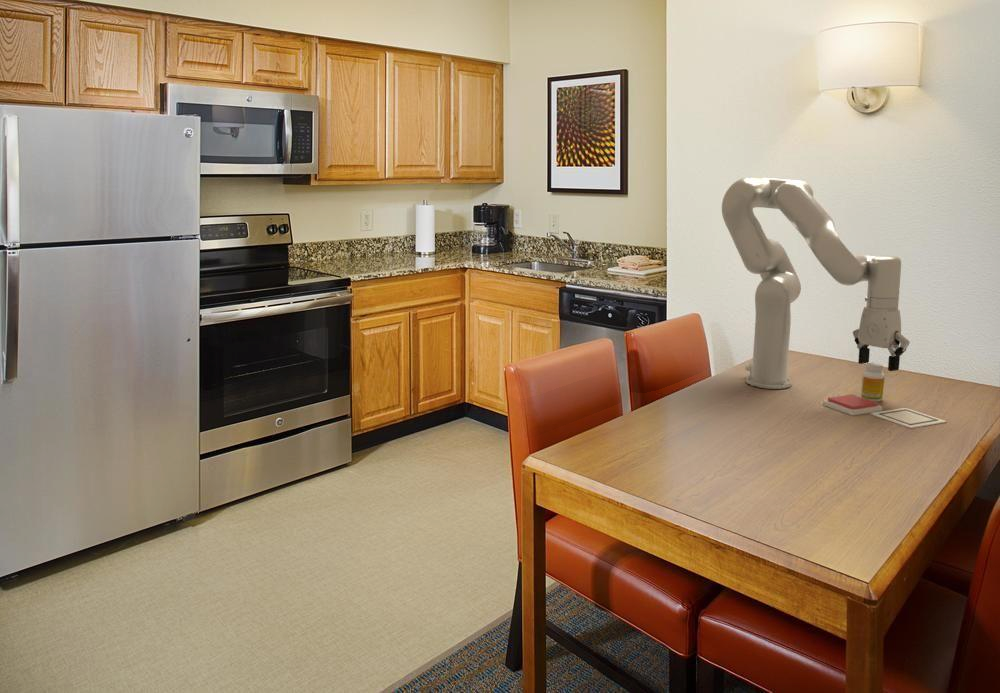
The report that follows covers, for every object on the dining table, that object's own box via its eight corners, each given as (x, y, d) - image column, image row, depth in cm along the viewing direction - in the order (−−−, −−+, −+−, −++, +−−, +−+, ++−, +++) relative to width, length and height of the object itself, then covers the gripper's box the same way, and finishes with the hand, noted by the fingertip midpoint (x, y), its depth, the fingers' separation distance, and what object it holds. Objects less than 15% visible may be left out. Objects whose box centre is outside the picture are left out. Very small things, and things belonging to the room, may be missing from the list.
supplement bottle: (884, 402, 206) (888, 367, 204) (862, 401, 207) (866, 366, 205) (879, 396, 211) (882, 362, 209) (857, 395, 213) (861, 361, 210)
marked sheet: (870, 414, 196) (870, 412, 196) (905, 408, 201) (905, 407, 201) (910, 428, 185) (911, 426, 185) (946, 422, 190) (946, 420, 190)
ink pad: (822, 404, 204) (823, 397, 204) (851, 400, 208) (852, 393, 208) (852, 415, 195) (853, 407, 195) (881, 410, 199) (882, 403, 199)
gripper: (845, 300, 210) (842, 362, 213) (899, 308, 194) (894, 375, 198) (866, 298, 213) (862, 359, 216) (921, 306, 197) (916, 371, 200)
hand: (878, 366), depth 207 cm, fingers open, 9 cm apart
